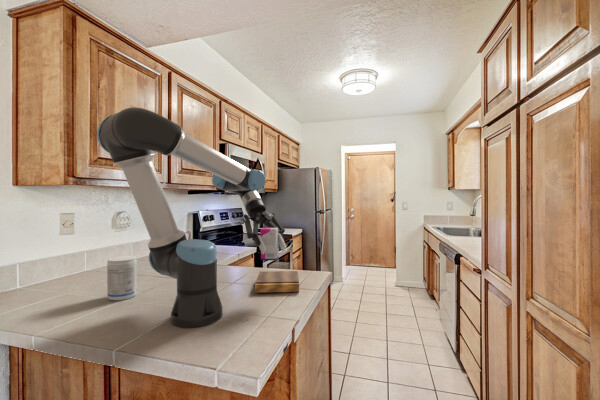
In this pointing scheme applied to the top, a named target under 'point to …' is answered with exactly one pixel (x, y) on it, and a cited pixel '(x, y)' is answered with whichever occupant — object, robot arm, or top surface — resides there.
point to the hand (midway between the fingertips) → (274, 250)
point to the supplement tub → (122, 277)
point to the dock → (277, 281)
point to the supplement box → (270, 243)
